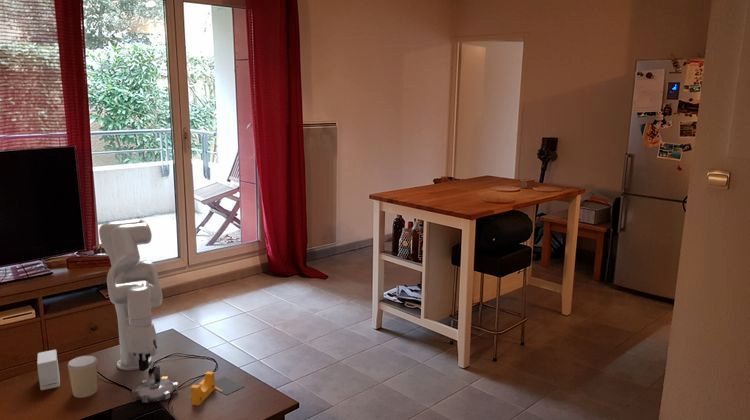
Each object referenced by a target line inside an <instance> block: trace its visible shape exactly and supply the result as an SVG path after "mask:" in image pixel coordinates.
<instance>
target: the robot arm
mask: <svg viewBox="0 0 750 420" xmlns="http://www.w3.org/2000/svg"><path fill="white" fill-rule="evenodd" d="M98 235H99V240H100V243H101V245H102V248H103V249H104V251H105V253H106V254H107V256H108V258H109V261H110V265H111V267H110V268H109V270H108V272H107V275H106V286H107V291H108V292H107V293H108V297H109V300H110V302H111V303H112V304H113V305H114V308H115V311H116V316H117V324H118V325H117V329H118V340H119V351H118V354H120V359H119V360H118V361H117V362H116V367H117V369H119V370H122V371H135V370H136V371H137V370H139V371H141V372H144V371H146V370H148V369H149V367H150V364H151V363H152V356H156V355H157V354H158V351H157V349H158V338H157V332H156V328H155V325H154V323H153V320H152V318H153V317H152V308H155V307H159V306H161V304H162V303H163V299H164V298H163V296H164V295H163V292H162V286H161V282H160V278H159V275H158V271H157V270H158V269H157V267H156V265H155V263H154V262H153V261H151V260H141V255H140V251H139V247H138V246H139V245H140V246H141V245H148V244H150V242H151V241H152V239H153V238H152V236H153V235H152V230H151V228H150V225H149V224H148V223H147V222H146V221H145V220H143V219H141V218H137V219H124V220H115V221H109V222H105V223H103V224H102V225H101V226H100V227H99V229H98Z"/></svg>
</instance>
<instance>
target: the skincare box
mask: <svg viewBox="0 0 750 420" xmlns="http://www.w3.org/2000/svg"><path fill="white" fill-rule="evenodd" d="M57 352H58V351H57V349H52V350H45V351H40V352H38V353H37V361H36V363H37V364H36V365H37V375H38V376H37V377H38V381H39V382H38V383H39V388H40V391H44V390H45V391H46V390H49V389H54V388H59V387H61V379H60V378H61V377H60V369H59V361H58V353H57Z"/></svg>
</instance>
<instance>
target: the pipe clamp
mask: <svg viewBox="0 0 750 420" xmlns="http://www.w3.org/2000/svg"><path fill="white" fill-rule="evenodd" d="M215 379H216V378H215V371H209V370H208V371H206V372H205V373H204V379H202V380H201V381H200V382H199V383H198V384H192V385H191V386H190V394H191V396H190V397H191V405H192V406H200V405H201V404H202V403H203V402H204V401H205V400H206V399H207V398H208V397H209V396H210V394H211V393H212V392H213V391H214V390H215Z"/></svg>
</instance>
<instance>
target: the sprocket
mask: <svg viewBox="0 0 750 420" xmlns="http://www.w3.org/2000/svg"><path fill="white" fill-rule="evenodd" d="M153 373H154V375H153V377H154V378H153V379H150V380H147V379H144V380H140V384H139V385H138V386H137V387H136V388H134V389H133V388H132V389H131V392H132V397H134V398H135V397H137V398H138V399H140V400H141V399H142V400H141V402H142V403H149V402H148V401H149V400H158V399H162V398H164V400H167V399H169V398H171V394H172V393H173V392H174V390H178V389H179V383H178V381H176V382H173V381H172V380H170V379H169V376H164V375H163V376H162V377H161V367H160V365H155V366H154V367H153Z"/></svg>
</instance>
